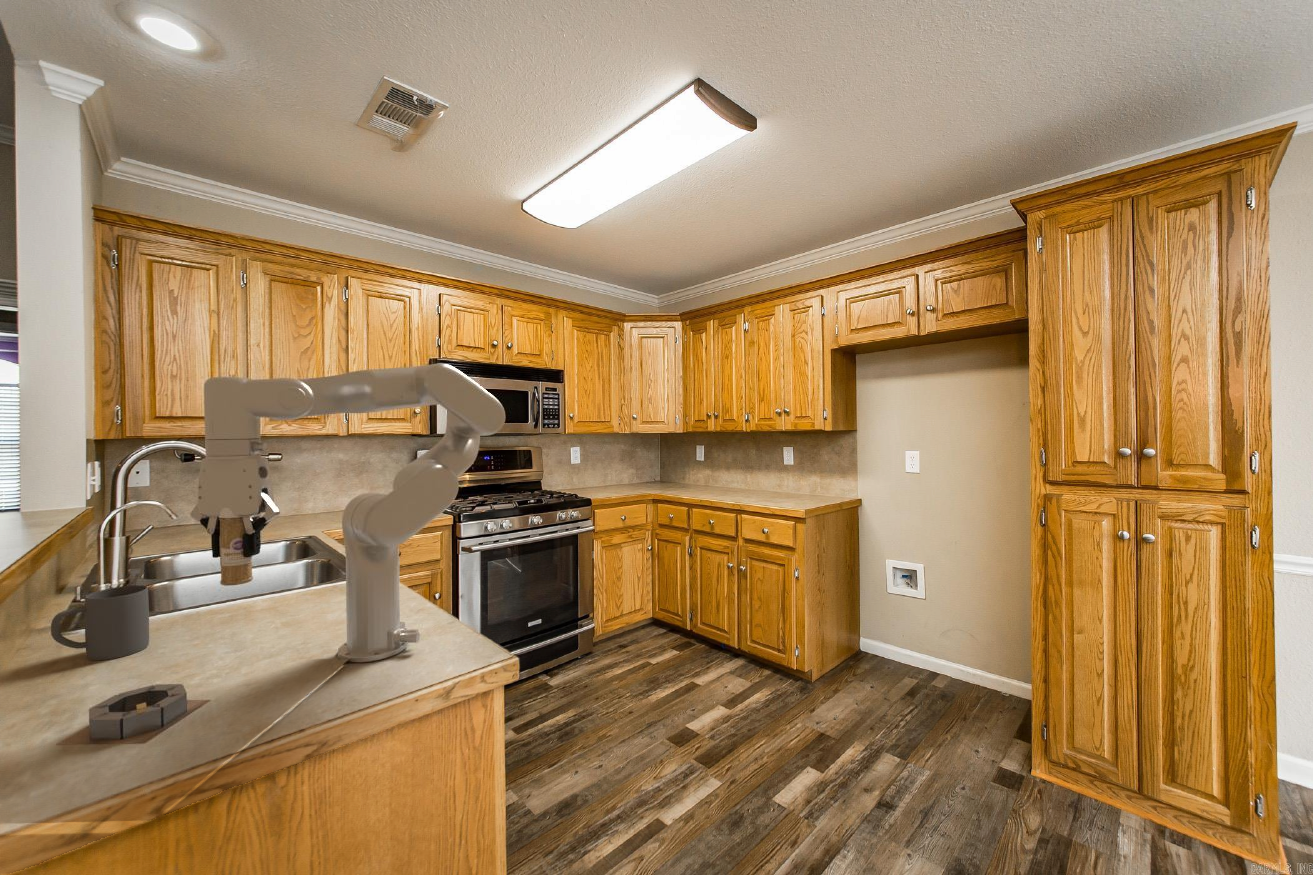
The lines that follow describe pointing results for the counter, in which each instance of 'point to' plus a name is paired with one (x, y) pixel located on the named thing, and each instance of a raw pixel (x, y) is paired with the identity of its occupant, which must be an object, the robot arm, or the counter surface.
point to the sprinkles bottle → (233, 550)
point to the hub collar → (137, 712)
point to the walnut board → (84, 736)
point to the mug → (111, 623)
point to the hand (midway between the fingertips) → (236, 554)
